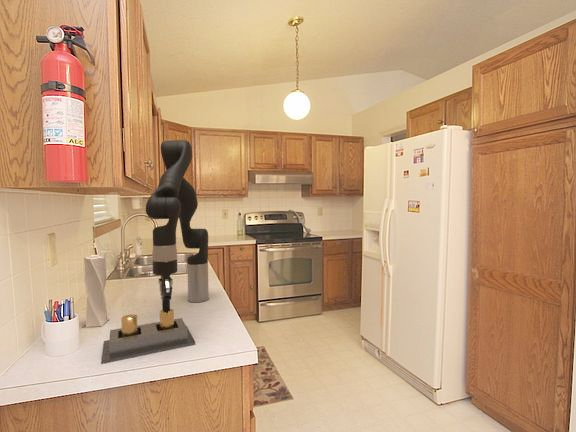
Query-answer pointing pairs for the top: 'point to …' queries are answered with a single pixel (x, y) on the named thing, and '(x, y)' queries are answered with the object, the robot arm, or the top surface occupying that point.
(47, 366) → the top surface
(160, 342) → the jig
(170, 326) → the gold and grey cylinder
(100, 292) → the skyscraper
